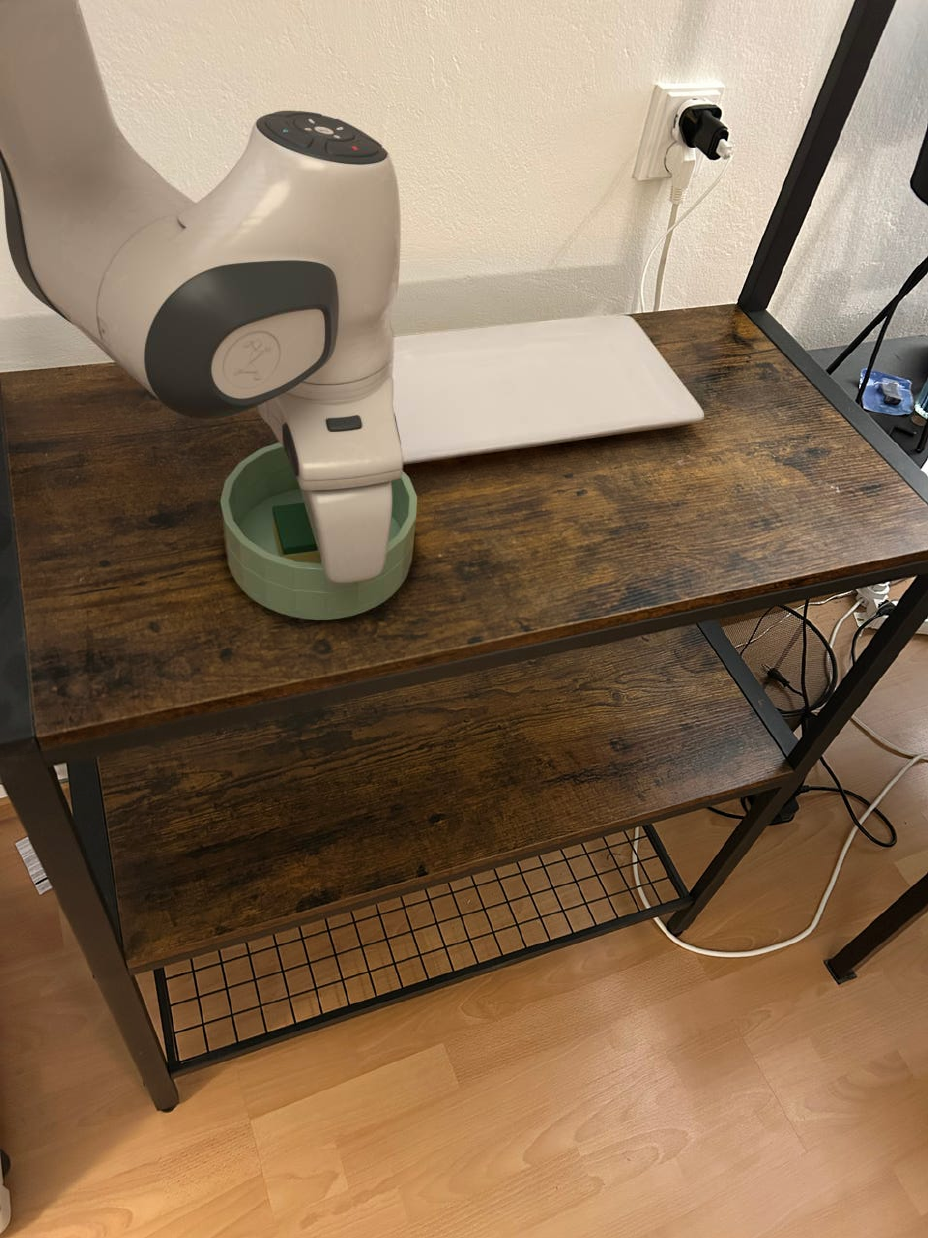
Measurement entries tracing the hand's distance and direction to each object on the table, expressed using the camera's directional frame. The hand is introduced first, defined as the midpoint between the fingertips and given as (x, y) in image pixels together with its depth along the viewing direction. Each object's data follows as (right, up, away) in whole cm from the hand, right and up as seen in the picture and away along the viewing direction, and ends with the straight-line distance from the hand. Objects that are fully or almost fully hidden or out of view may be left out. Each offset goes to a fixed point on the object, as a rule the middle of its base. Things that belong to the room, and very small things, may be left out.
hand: (323, 534), depth 73 cm
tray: (+15, +13, +17) cm, 26 cm away
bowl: (-1, -1, +2) cm, 3 cm away
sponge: (0, -1, +1) cm, 2 cm away
